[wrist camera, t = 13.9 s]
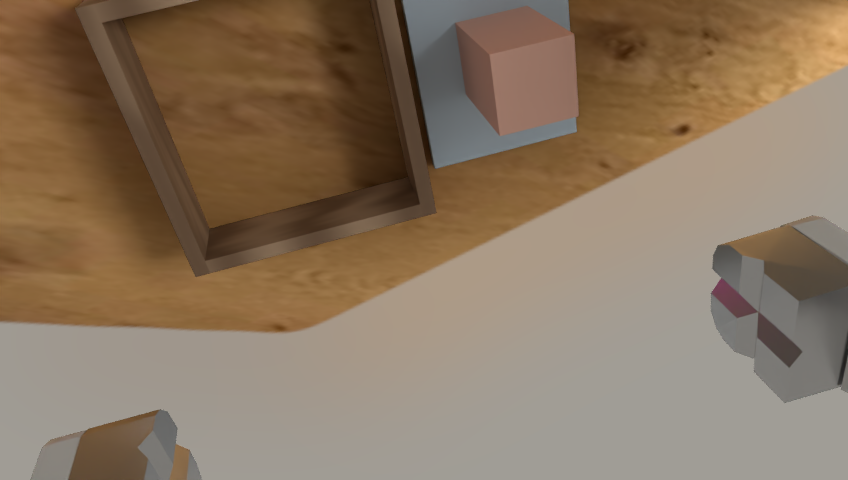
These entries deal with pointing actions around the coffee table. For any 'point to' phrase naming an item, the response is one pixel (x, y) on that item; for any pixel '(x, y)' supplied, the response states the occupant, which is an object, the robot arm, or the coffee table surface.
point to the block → (519, 69)
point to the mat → (444, 85)
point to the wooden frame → (273, 230)
